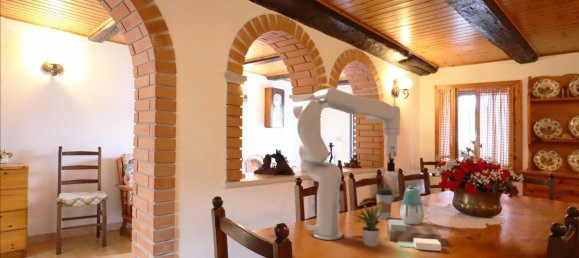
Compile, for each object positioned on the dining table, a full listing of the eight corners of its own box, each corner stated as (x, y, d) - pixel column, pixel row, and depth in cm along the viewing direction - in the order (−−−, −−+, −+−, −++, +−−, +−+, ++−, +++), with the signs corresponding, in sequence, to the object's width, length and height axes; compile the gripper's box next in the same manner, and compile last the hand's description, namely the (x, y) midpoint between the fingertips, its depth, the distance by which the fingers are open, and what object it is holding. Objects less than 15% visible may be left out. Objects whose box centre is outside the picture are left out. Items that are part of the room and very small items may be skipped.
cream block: (413, 237, 138) (413, 244, 138) (416, 242, 132) (416, 249, 132) (437, 239, 137) (437, 245, 137) (441, 244, 131) (441, 250, 131)
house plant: (363, 236, 150) (364, 198, 150) (394, 242, 141) (394, 202, 141) (346, 243, 139) (347, 203, 139) (379, 251, 130) (379, 208, 130)
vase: (420, 227, 165) (420, 190, 165) (396, 223, 172) (396, 187, 172) (427, 222, 174) (427, 187, 174) (404, 219, 181) (404, 185, 181)
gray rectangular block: (405, 231, 144) (405, 225, 144) (390, 230, 145) (391, 224, 145) (402, 225, 152) (402, 220, 152) (388, 224, 154) (388, 219, 154)
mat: (399, 246, 136) (399, 245, 136) (397, 241, 143) (397, 240, 143) (431, 249, 134) (431, 248, 134) (428, 243, 140) (428, 242, 140)
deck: (389, 241, 143) (390, 231, 143) (387, 232, 155) (387, 224, 155) (441, 244, 140) (441, 234, 140) (434, 236, 151) (434, 227, 151)
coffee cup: (393, 217, 185) (394, 189, 185) (389, 220, 178) (389, 191, 178) (378, 215, 189) (379, 187, 189) (373, 218, 182) (374, 189, 182)
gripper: (381, 132, 170) (381, 169, 170) (384, 132, 156) (384, 172, 155) (397, 132, 169) (397, 170, 169) (401, 132, 154) (401, 173, 154)
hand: (390, 171), depth 162 cm, fingers closed
